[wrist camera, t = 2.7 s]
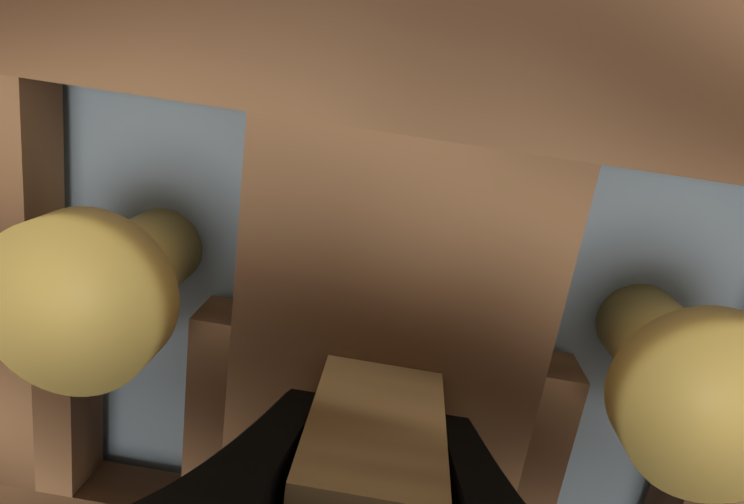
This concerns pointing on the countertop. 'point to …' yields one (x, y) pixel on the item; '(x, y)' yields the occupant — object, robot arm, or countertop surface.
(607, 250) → the boss board
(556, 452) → the panel
